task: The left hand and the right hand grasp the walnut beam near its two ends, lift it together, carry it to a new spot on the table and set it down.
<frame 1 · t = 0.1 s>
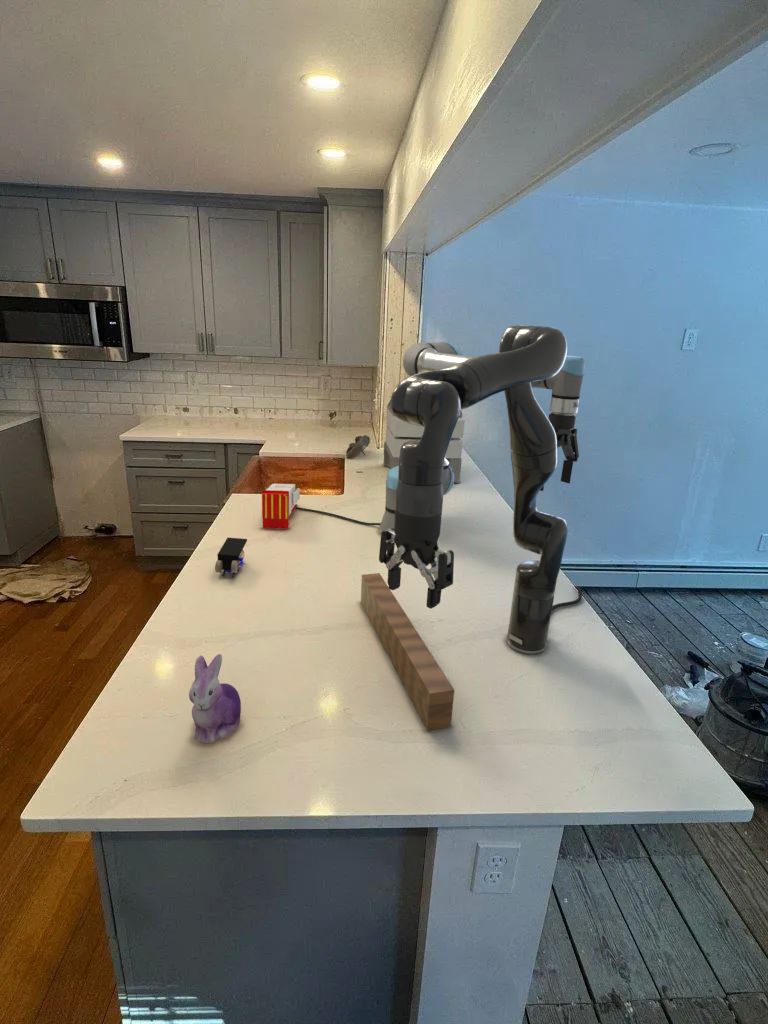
left hand: (552, 485, 166), 28 cm above the counter, tool pointing down, fingers open, 13 cm apart
right hand: (412, 597, 96), 29 cm above the counter, tool pointing down, fingers open, 8 cm apart
beam: (398, 654, 130), on the counter
fossil: (357, 454, 304), on the counter
figurine character: (232, 569, 168), on the counter
toy: (280, 515, 212), on the counter
figurine: (217, 727, 105), on the counter
slatted crate: (419, 473, 275), on the counter
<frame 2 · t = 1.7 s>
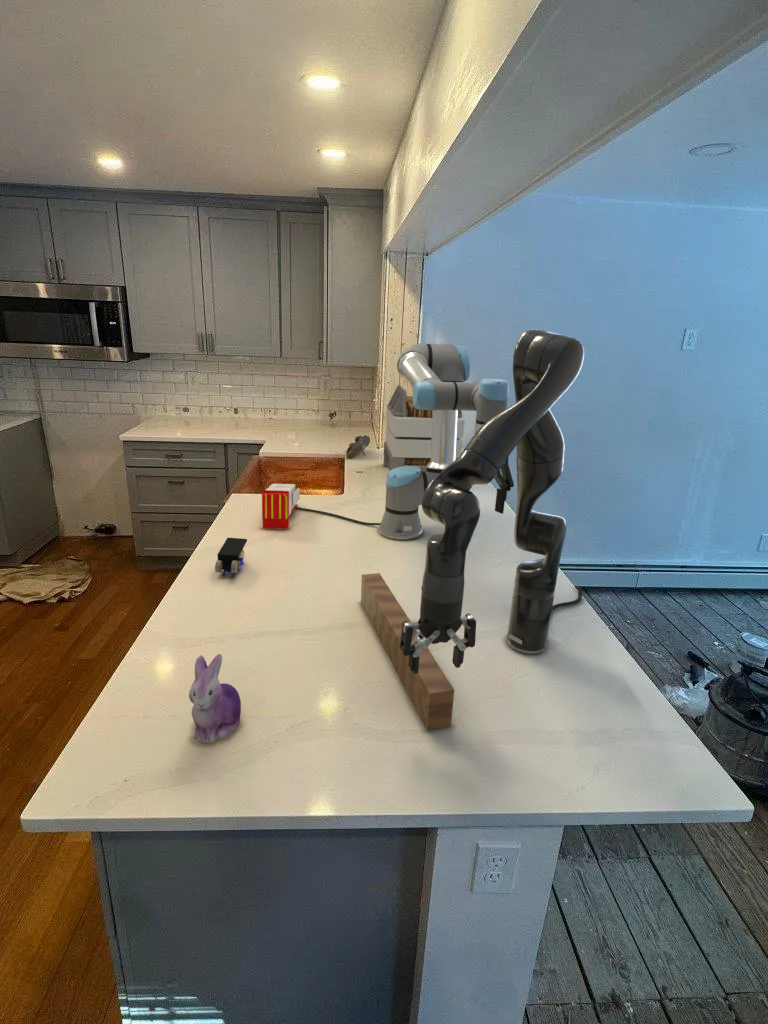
left hand: (480, 515, 156), 22 cm above the counter, tool pointing down, fingers open, 13 cm apart
right hand: (435, 668, 107), 11 cm above the counter, tool pointing down, fingers open, 8 cm apart
nothing on the counter moved.
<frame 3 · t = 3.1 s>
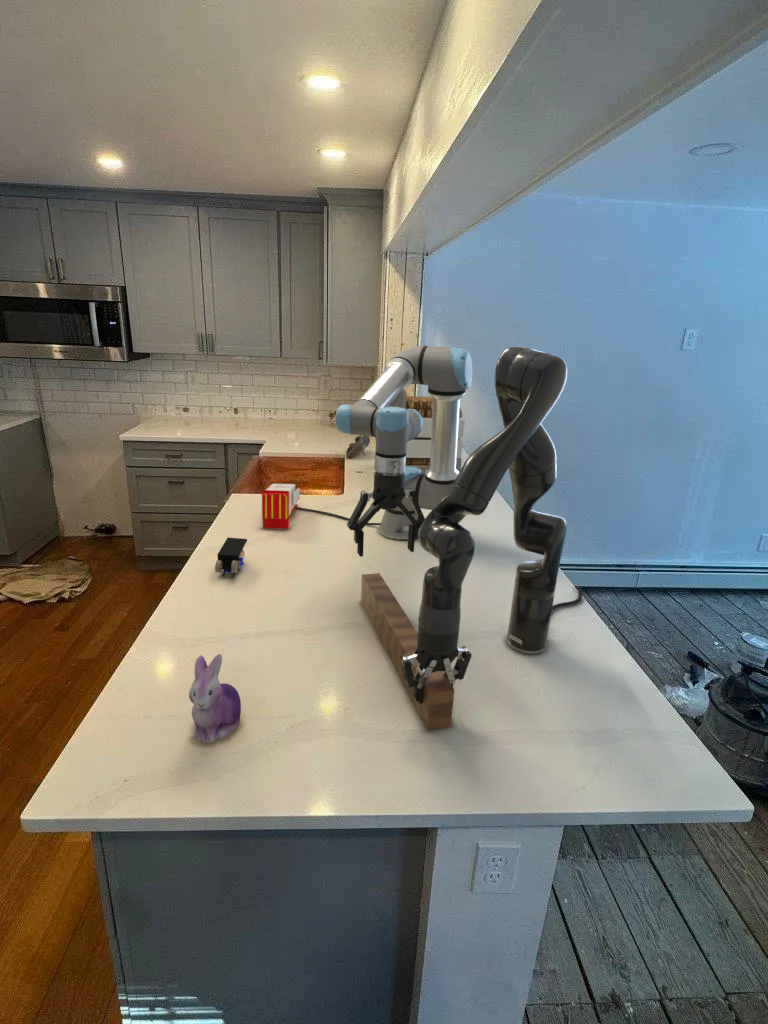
left hand: (385, 552, 145), 16 cm above the counter, tool pointing down, fingers open, 13 cm apart
right hand: (432, 698, 110), 4 cm above the counter, tool pointing down, fingers closed on beam, 5 cm apart
beam: (398, 654, 130), on the counter, touching right hand
everything else where it was.
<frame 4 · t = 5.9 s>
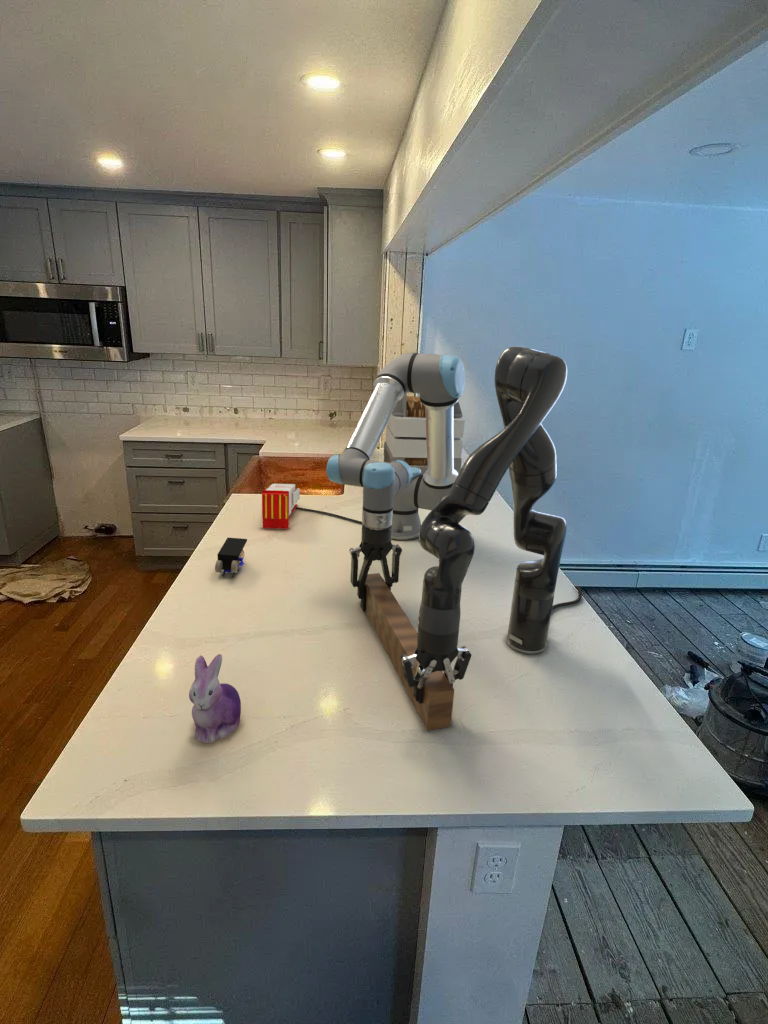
left hand: (373, 607, 149), 1 cm above the counter, tool pointing down, fingers closed on beam, 5 cm apart
right hand: (432, 698, 110), 4 cm above the counter, tool pointing down, fingers closed on beam, 5 cm apart
beam: (398, 654, 130), on the counter, touching left hand, right hand
everything else where it was.
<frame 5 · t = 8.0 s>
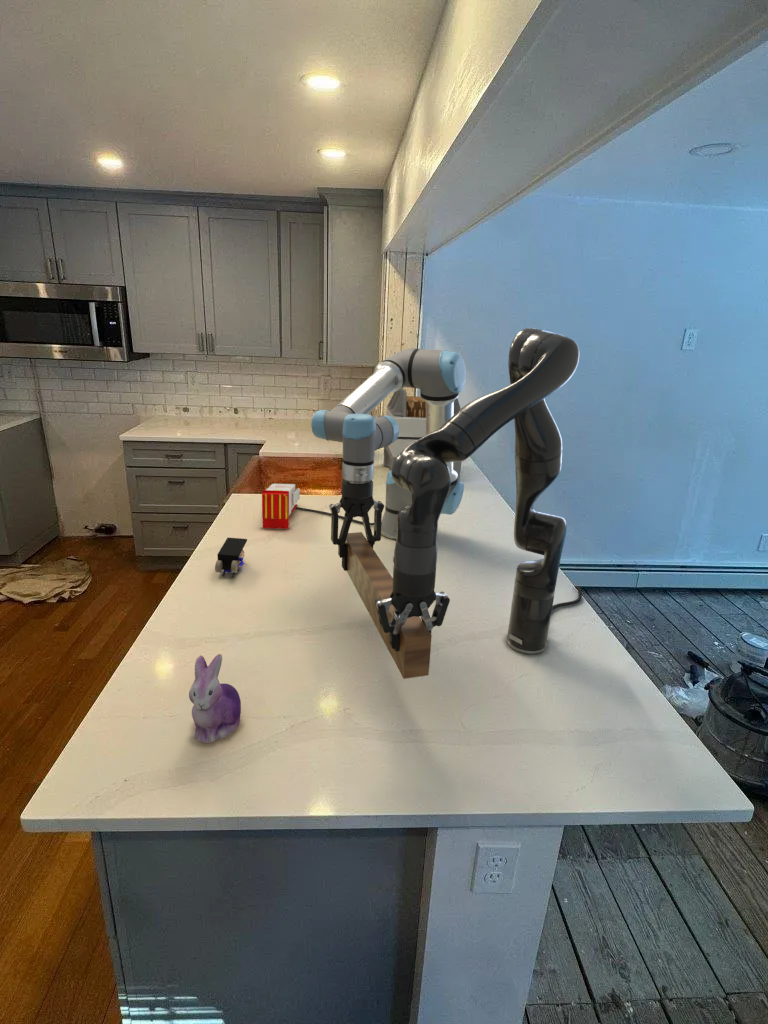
left hand: (355, 567, 144), 12 cm above the counter, tool pointing down, fingers closed on beam, 5 cm apart
right hand: (409, 646, 105), 16 cm above the counter, tool pointing down, fingers closed on beam, 5 cm apart
beam: (378, 609, 125), point 12 cm above the counter, touching left hand, right hand
everything else where it was.
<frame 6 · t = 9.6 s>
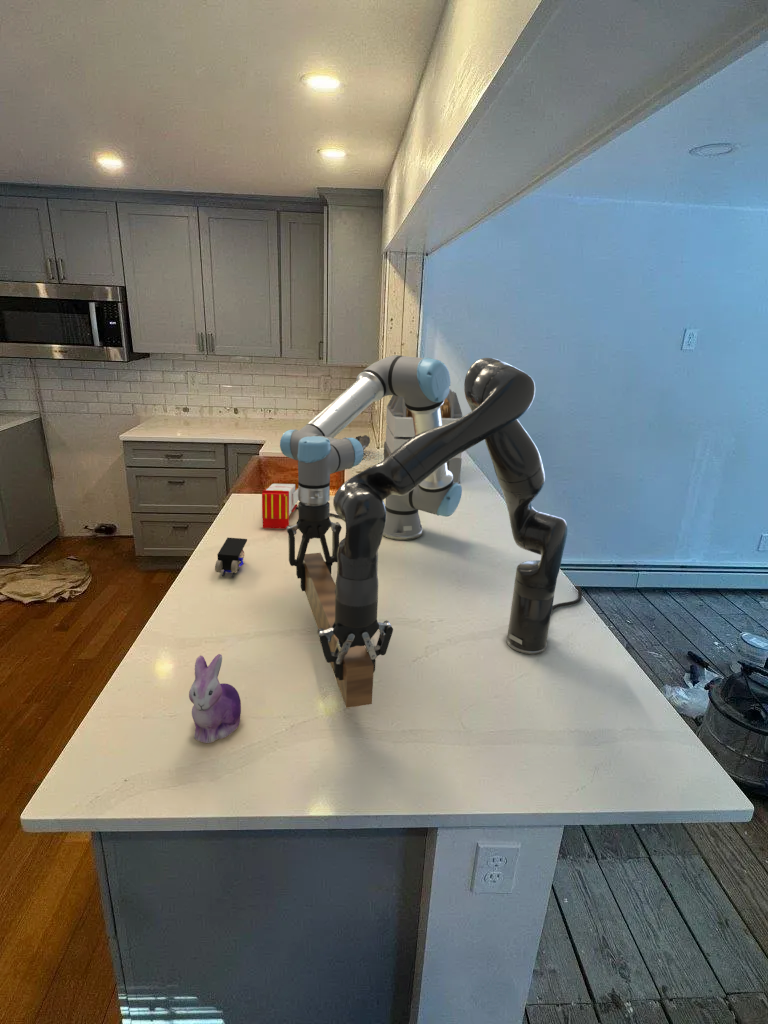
left hand: (313, 587, 144), 7 cm above the counter, tool pointing down, fingers closed on beam, 5 cm apart
right hand: (354, 675, 106), 10 cm above the counter, tool pointing down, fingers closed on beam, 5 cm apart
beam: (330, 633, 126), point 6 cm above the counter, touching left hand, right hand
everything else where it was.
when the left hand's fingers open (2 cm above the counter, at t = 10.4 s): beam drops 1 cm, on the counter.
when the right hand's fingers open (5 cm above the counter, at t = 10.6 s): beam stays where it is, on the counter.
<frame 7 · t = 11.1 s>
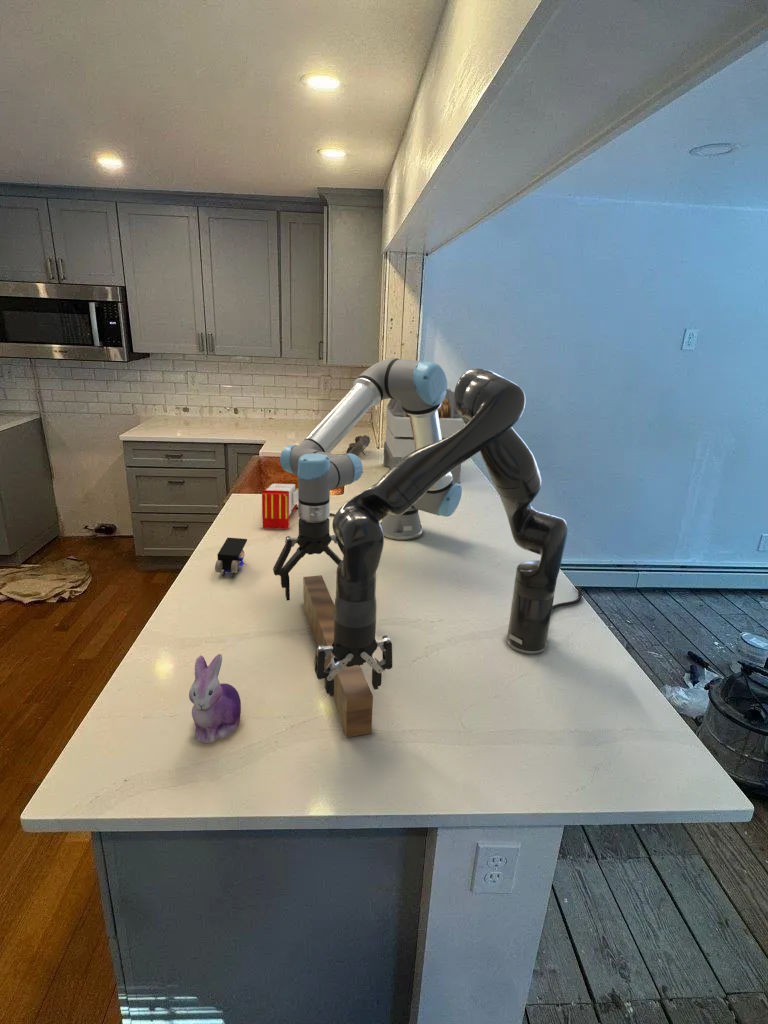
left hand: (314, 595, 145), 5 cm above the counter, tool pointing down, fingers open, 13 cm apart
right hand: (353, 690, 107), 7 cm above the counter, tool pointing down, fingers open, 8 cm apart
beam: (331, 658, 128), on the counter
everything else where it was.
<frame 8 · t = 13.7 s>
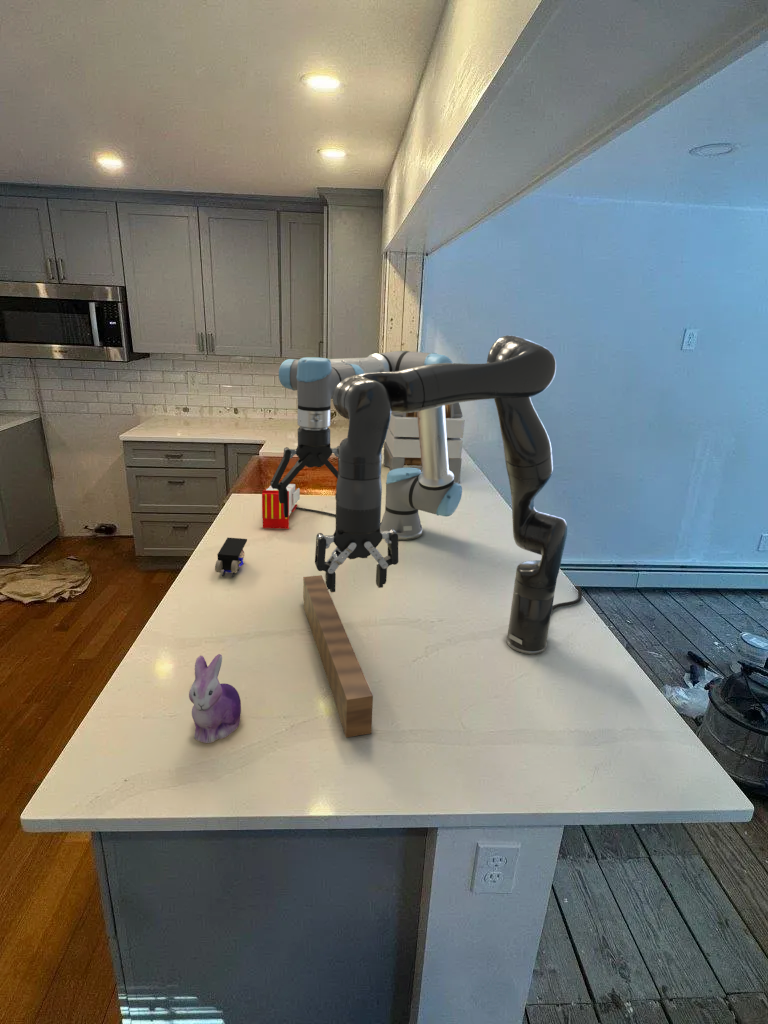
left hand: (313, 513, 138), 27 cm above the counter, tool pointing down, fingers open, 13 cm apart
right hand: (356, 588, 99), 28 cm above the counter, tool pointing down, fingers open, 8 cm apart
nothing on the counter moved.
at the end: beam inside the target area (0.5 cm from its centre), on the counter; beam tilted 0°; beam never tilted more than 2° during the clip; both hands held the beam at the same time; the left hand is holding nothing; the right hand is holding nothing; beam at rest at the end (0.0 cm/s) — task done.
